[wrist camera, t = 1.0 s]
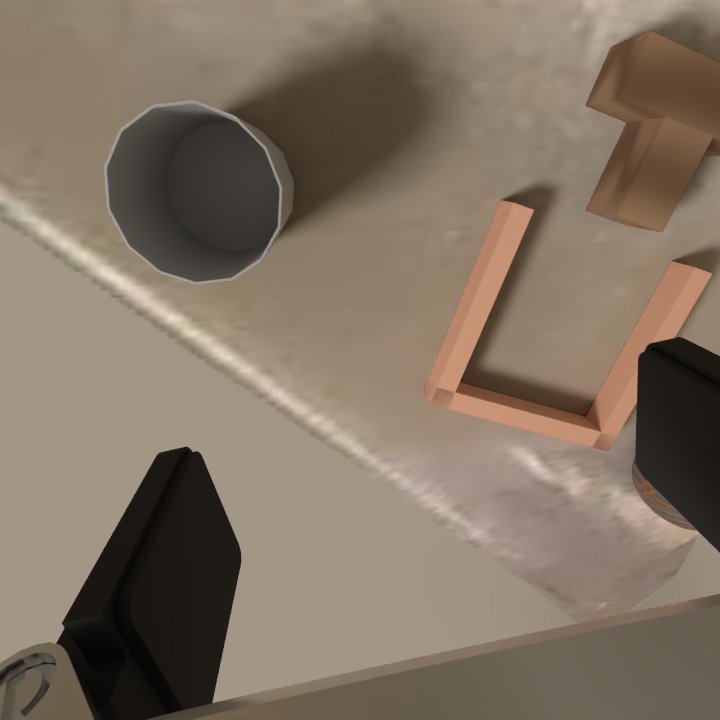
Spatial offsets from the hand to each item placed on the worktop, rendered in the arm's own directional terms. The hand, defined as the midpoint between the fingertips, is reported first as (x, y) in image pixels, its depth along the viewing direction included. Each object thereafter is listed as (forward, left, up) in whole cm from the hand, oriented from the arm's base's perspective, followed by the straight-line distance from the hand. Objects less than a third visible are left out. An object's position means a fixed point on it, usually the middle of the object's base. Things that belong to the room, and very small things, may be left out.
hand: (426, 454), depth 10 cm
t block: (-12, +17, -26) cm, 34 cm away
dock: (+1, +17, -26) cm, 31 cm away
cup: (-1, -9, -26) cm, 28 cm away
